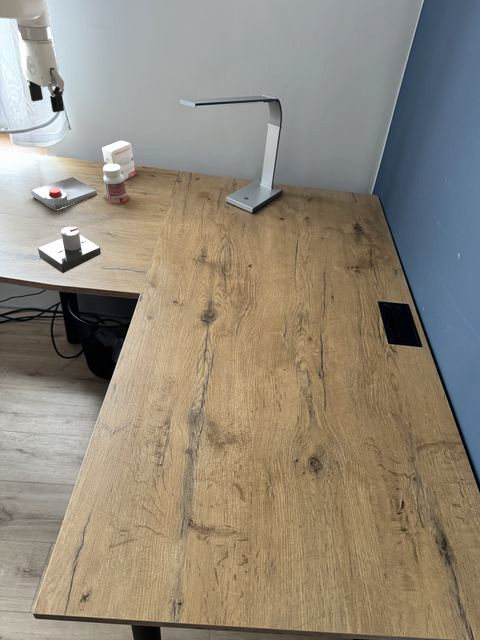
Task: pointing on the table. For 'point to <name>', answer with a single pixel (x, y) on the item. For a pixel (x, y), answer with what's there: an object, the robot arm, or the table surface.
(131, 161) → the ink box
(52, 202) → the block
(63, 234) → the hob knob
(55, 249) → the base plate
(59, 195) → the button
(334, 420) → the table surface
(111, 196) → the pill bottle
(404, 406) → the table surface
